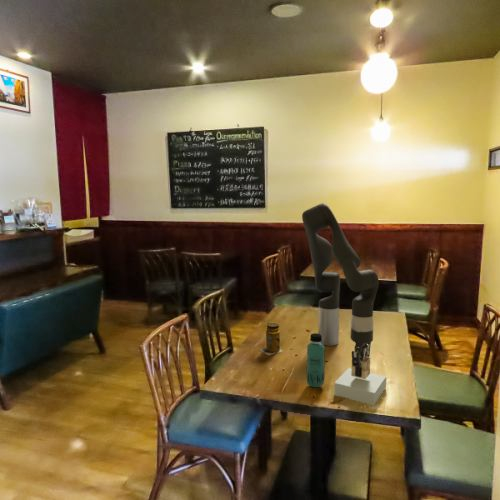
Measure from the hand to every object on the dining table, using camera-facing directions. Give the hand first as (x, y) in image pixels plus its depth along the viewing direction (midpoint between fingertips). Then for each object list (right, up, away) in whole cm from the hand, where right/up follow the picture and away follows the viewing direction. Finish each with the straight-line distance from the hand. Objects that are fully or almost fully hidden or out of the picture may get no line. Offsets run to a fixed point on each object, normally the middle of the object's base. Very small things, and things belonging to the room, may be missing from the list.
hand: (360, 373), depth 149 cm
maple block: (0, -1, 0) cm, 1 cm away
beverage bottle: (-15, -7, +5) cm, 17 cm away
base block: (0, -7, +1) cm, 7 cm away
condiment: (-30, -2, +39) cm, 49 cm away
